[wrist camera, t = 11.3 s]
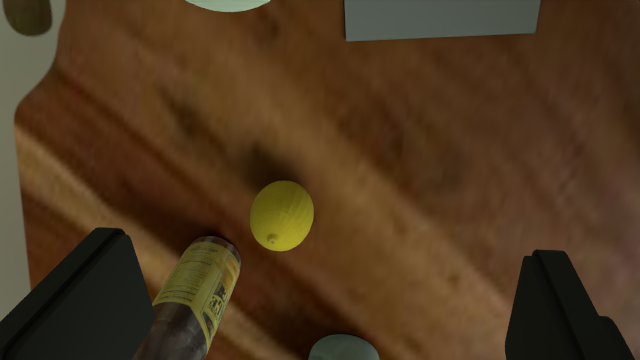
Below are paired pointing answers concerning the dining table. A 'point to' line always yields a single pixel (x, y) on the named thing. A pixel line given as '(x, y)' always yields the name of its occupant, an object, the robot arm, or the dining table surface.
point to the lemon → (281, 215)
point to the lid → (228, 4)
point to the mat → (438, 18)
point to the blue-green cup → (343, 349)
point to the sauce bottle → (192, 302)
